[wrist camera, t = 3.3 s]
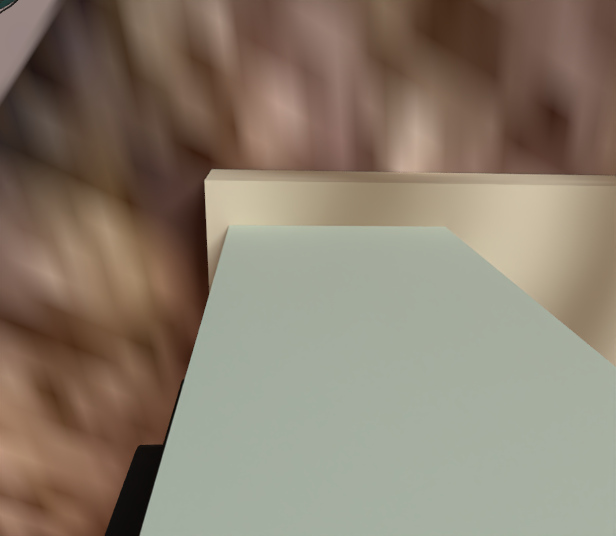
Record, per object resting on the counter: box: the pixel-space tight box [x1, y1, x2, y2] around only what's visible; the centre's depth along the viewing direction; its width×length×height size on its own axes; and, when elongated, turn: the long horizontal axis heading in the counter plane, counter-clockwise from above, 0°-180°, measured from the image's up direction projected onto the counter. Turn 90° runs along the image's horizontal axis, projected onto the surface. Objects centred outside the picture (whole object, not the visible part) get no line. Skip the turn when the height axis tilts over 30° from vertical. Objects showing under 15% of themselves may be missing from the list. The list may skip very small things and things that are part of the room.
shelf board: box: [204, 169, 616, 367], centre depth 14 cm, size 18×16×4 cm
